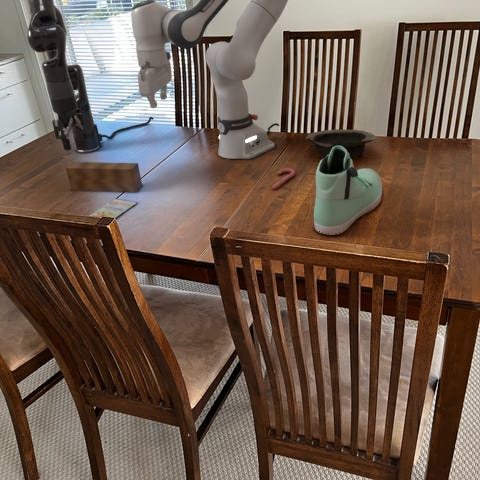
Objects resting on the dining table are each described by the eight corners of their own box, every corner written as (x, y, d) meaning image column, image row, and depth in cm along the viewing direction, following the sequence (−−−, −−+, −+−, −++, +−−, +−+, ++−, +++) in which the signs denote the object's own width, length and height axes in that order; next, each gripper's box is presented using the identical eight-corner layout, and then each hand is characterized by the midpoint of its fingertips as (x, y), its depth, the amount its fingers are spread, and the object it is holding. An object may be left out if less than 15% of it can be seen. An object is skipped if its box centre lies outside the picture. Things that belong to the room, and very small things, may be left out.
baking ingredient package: (82, 218, 143) (114, 198, 155) (83, 220, 144) (114, 199, 155) (105, 223, 140) (136, 202, 151) (106, 224, 140) (136, 203, 151)
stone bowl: (333, 173, 159) (333, 147, 155) (293, 156, 179) (291, 132, 175) (391, 155, 168) (392, 129, 164) (346, 141, 188) (345, 118, 184)
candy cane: (259, 187, 155) (259, 183, 155) (283, 170, 165) (283, 166, 165) (275, 190, 152) (275, 186, 151) (298, 173, 162) (298, 169, 162)
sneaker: (389, 187, 148) (396, 123, 138) (356, 242, 123) (361, 168, 112) (346, 181, 154) (350, 119, 144) (306, 232, 129) (307, 161, 118)
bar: (71, 190, 164) (65, 167, 159) (79, 183, 168) (73, 161, 164) (136, 192, 159) (131, 169, 154) (142, 185, 163) (138, 163, 159)
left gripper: (60, 101, 142) (74, 153, 150) (83, 89, 154) (95, 137, 162) (38, 101, 143) (53, 153, 152) (63, 89, 155) (75, 137, 164)
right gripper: (149, 66, 140) (157, 112, 147) (172, 52, 157) (177, 94, 164) (129, 66, 141) (138, 112, 149) (154, 52, 158) (160, 94, 166)
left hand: (74, 145), depth 157 cm, fingers open, 8 cm apart
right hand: (159, 103), depth 157 cm, fingers open, 8 cm apart
